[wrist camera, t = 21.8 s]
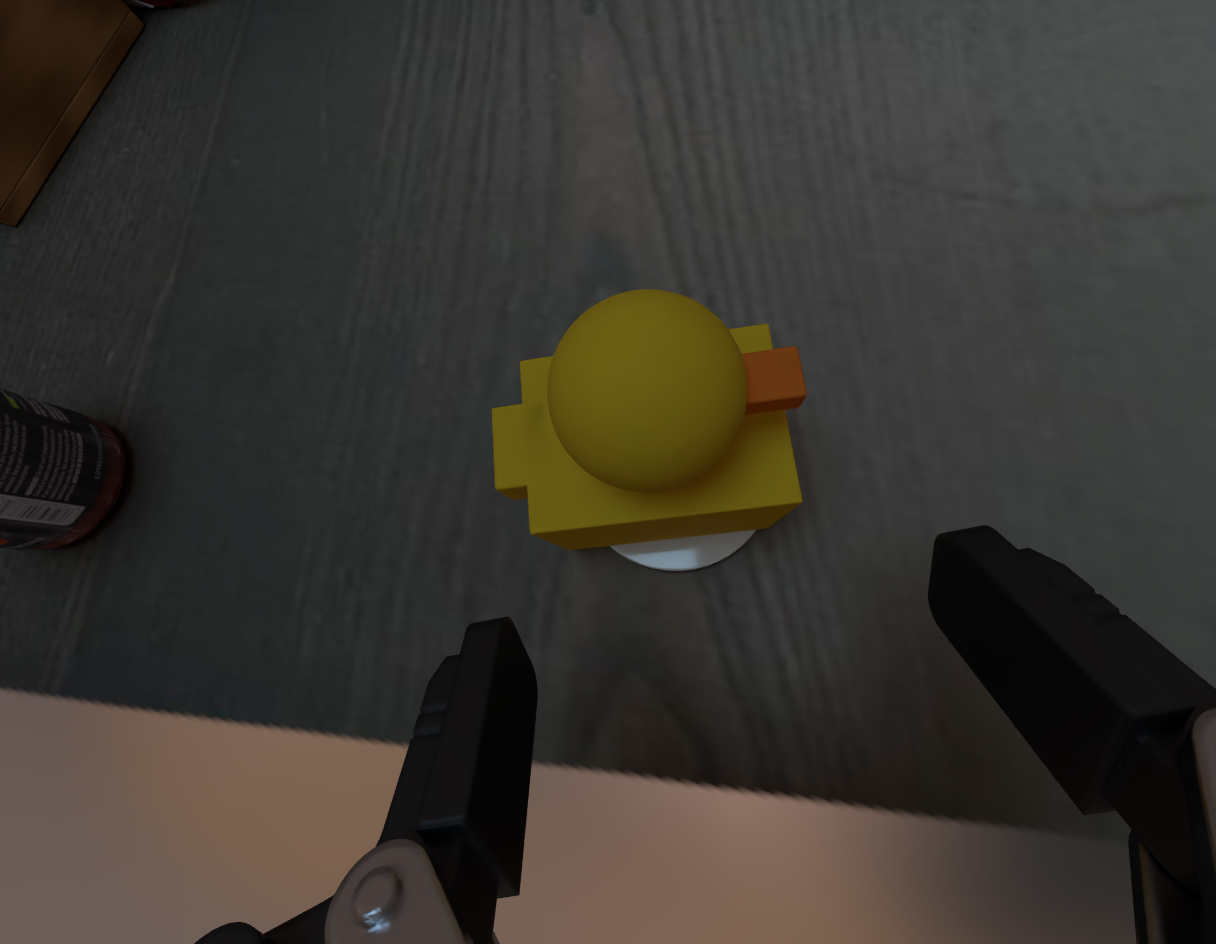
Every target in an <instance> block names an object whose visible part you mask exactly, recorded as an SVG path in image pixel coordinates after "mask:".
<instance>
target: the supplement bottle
mask: <svg viewBox="0 0 1216 944" xmlns="http://www.w3.org/2000/svg"><path fill="white" fill-rule="evenodd" d="M125 460H126V458H125V455H124V451H123V449H122V445H121V443H120V441H119V439H118V437H117V436H116V435H115V433H114V432H113V431H112V430H111V429H110V428H109V427H108V426H107V425H105V424H103V423H102V422H100V421H98V420H96V419H94V418H91V417H88V416H85V415H82V414H80V413H78V412H75V411H72V410H68V409H64V408H62V407H59V406H55V405H51V404H48V403H45V402H41V401H39V400H36V399H32V398H29V397H25V396H22V395H19V394H16V393H13V392H10V391H6V390H3V389H0V548H9V549H16V550H19V549H51V548H57V547H60V546H64V545H67V544H70V543H72V542H74V541H76V540H79V539H81V538H82V537H84V536H85V535H86V534H87V533H89V532H90V531H92V530H93V529H94V528H95V527H96V526H97V525H98V524H99V523H100V522H101V521H102V520H103V519H104V518H105V517H106V515H107V514H108V513H109V511H110V510H111V508H112V507H113V506H114V504H115V502H116V500H117V498H118V497H119V494H120V490H121V487H122V484H123V481H124V478H125V476H124V472H125Z"/></svg>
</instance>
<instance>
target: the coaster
mask: <svg viewBox="0 0 1216 944" xmlns="http://www.w3.org/2000/svg"><path fill="white" fill-rule="evenodd" d="M755 531H756V530H748V531H739V532H730V533H721V534H712V535H703V536H694V537H685V538H676V539H667V540H658V541H649V542H640V543H631V544H622V545H613V546H610V547H611V548H612V549H613V550H615V551H616V552H617V553H618V554H620V555H621V556H623V557H625V558H626V559H628V560H630V561H632V562H634V563H636V564H639V565H641V566H644V567H647V568H651V569H654V570H660V571H667V572H683V571H691V570H697V569H700V568H704V567H708V566H710V565H713V564H715V563H717V562H720V561H721V560H723V559H725V558H727V557H728V556H730V555H731V554H733V553H734V552H735V551H737V550H738V549H739V548H740V547H742V546H743V545H744V544H745V543H746V542H747V541H748V540H749V539H750V538H751V537H752V535H753V534H754V532H755Z"/></svg>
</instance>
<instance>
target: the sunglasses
mask: <svg viewBox="0 0 1216 944" xmlns="http://www.w3.org/2000/svg"><path fill="white" fill-rule="evenodd" d="M122 1H123V2H125V3H128V4H131V5H136V6H142V7H149V8H154V6H159V7H172V6H173V5H174V4H175V3H179V0H122Z"/></svg>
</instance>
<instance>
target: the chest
mask: <svg viewBox="0 0 1216 944" xmlns="http://www.w3.org/2000/svg"><path fill="white" fill-rule="evenodd" d="M143 27H144V24H143V23H142V22H141V21H140V20H139V19H138V17H137V16H136V15H135V14H134V13H133V12H132V11H130V9H129V8H128V7H127V5H126V4H125V3H124V2H123V1H122V0H0V223H4V224H7V225H11V226H14V227H15V226H16V225H17V224H18V222H19V221H20V219H21V217H22V216H23V214H24V213H25V211H26V210H27V208H28V207H29V205H30V203H31V202H32V200H33V199H34V197H35V196H36V194H37V192H38V191H39V189H40V188H41V186H42V185H43V183H44V182H45V180H46V178H47V177H48V175H49V174H50V172H51V171H52V169H53V168H54V166H55V164H56V163H57V161H58V160H59V158H60V157H61V155H62V153H63V152H64V150H65V149H66V147H67V146H68V144H69V143H70V141H71V139H72V138H73V136H74V135H75V133H76V132H77V130H78V129H79V127H80V125H81V124H82V122H83V121H84V119H85V118H86V116H87V114H88V113H89V111H90V110H91V108H92V107H93V105H94V104H95V102H96V100H97V99H98V97H99V96H100V94H101V93H102V91H103V90H104V88H105V86H106V85H107V83H108V82H109V80H110V79H111V77H112V76H113V74H114V72H115V71H116V69H117V68H118V66H119V65H120V63H121V61H122V60H123V58H124V57H125V55H126V54H127V52H128V51H129V49H130V47H131V46H132V44H133V43H134V41H135V40H136V38H137V37H138V35H139V33H140V32H141V30H142V29H143Z"/></svg>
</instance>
